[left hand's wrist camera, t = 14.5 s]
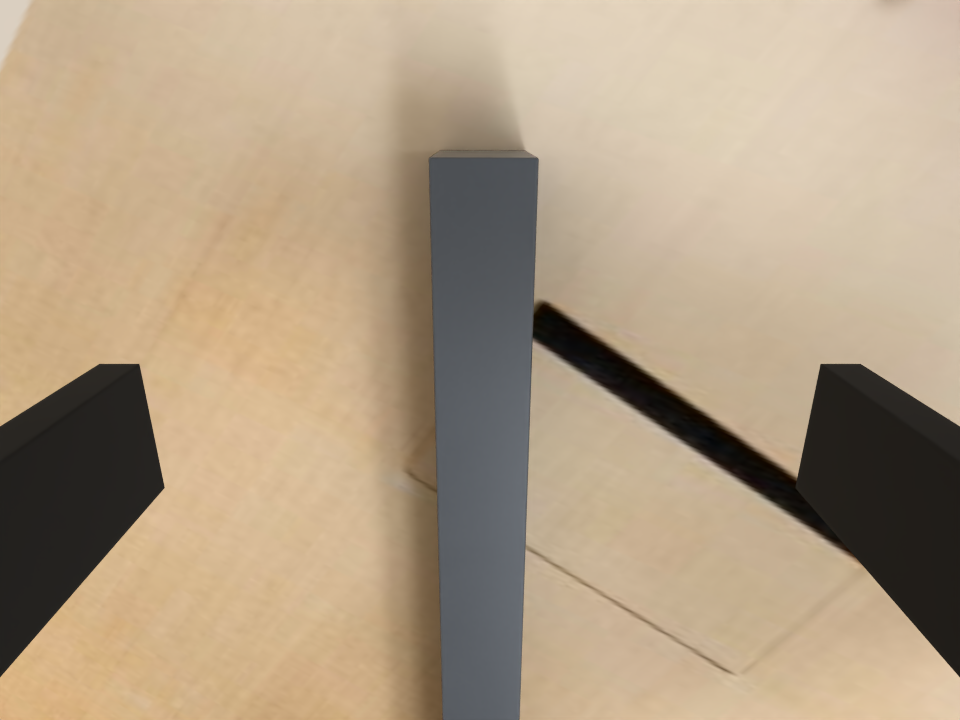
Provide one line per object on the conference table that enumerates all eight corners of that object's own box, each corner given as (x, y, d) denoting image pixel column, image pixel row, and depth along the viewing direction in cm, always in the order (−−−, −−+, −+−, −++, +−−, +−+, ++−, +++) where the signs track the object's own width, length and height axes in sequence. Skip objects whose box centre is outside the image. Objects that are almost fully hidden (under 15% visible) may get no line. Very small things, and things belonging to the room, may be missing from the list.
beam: (439, 150, 36) (428, 157, 28) (526, 150, 36) (538, 157, 28) (454, 967, 64) (451, 1081, 56) (503, 967, 64) (507, 1081, 56)
